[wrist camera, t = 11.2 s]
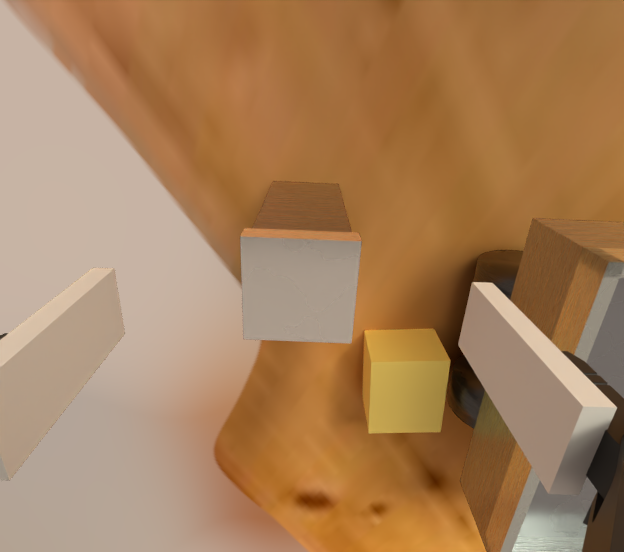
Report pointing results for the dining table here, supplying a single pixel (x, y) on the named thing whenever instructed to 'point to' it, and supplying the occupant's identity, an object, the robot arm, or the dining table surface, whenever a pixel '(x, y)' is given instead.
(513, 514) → the grey open rectangular container
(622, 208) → the dining table surface
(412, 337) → the block
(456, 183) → the dining table surface
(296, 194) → the grey tall block
